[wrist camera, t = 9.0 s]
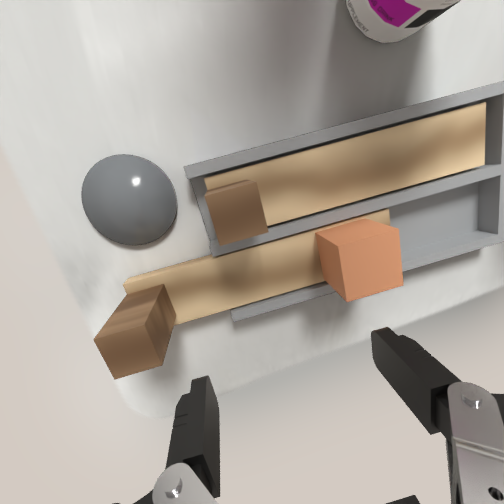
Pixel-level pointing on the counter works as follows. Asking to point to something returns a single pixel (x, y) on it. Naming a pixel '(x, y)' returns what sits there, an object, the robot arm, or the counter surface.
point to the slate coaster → (129, 199)
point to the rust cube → (360, 258)
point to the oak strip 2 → (206, 293)
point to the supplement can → (395, 16)
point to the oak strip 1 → (344, 172)
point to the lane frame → (387, 194)
